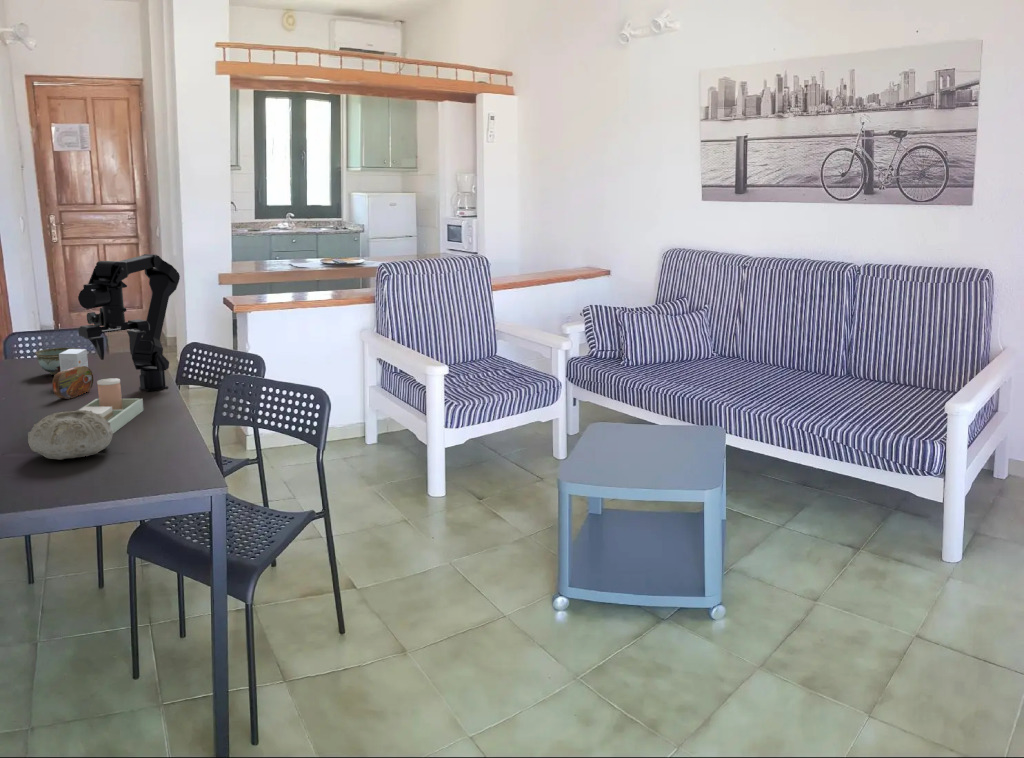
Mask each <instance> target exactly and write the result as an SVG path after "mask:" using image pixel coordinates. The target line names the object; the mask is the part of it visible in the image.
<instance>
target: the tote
mask: <svg viewBox="0 0 1024 758" xmlns="http://www.w3.org/2000/svg"><path fill="white" fill-rule="evenodd" d="M83 407H100V404H99V398H95V399H93V400H91V402H89V403H87V404H86V405H83V406H82V407H80V408H79V409H78V410H80V409H82V408H83ZM122 407H123V410H113V418H112V419H110V420H109V421H108V422H110V426H111V428H112V431H113V434H114V433H116V432H118V431H119V430H120V429H121V428H122V427H124V426H125V425H127V424H128V423H129V422H130V421H132V420H133V419H134V418H136V417H137V416H139V414H140V413H142V412H144V400H143V398H122Z"/></svg>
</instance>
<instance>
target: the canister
mask: <svg viewBox="0 0 1024 758" xmlns="http://www.w3.org/2000/svg"><path fill="white" fill-rule="evenodd" d="M96 384H97V391H98V392H97V393H98V399H99V404H100V407H112V410H123V407H122V399H123V398H122V387H121V386H122V385H121V379H120V378H117V377H116V378H114V377H111V378H102V379H98V380H96Z"/></svg>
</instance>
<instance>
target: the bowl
mask: <svg viewBox="0 0 1024 758" xmlns="http://www.w3.org/2000/svg"><path fill="white" fill-rule="evenodd" d="M68 349H80V348H79V347H78V348H77V347H53V348H46V349H41V350H38V351H36V352H35V353H34V354H35V355H36V358H37V362H38V364H39V366H40V367H41V369H43V370H44V371H46V372H47V373H49V374H51V375H56V374H57V373H58V372H61V370H60V362H59V354H60V353H62V352H64V351H66V350H68ZM51 375H50V376H51Z"/></svg>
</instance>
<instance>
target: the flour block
mask: <svg viewBox="0 0 1024 758" xmlns="http://www.w3.org/2000/svg"><path fill="white" fill-rule="evenodd" d="M82 407H83V408H82ZM82 407H81V408H82V409H81V408H79V409H80V410H87V411H92V412H93V413H96V414H99V415H100V416H102V417H103V418H104V419H106V420H107V421H109V420H110V419H112V418H113V410H112V407H84V406H82Z"/></svg>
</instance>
